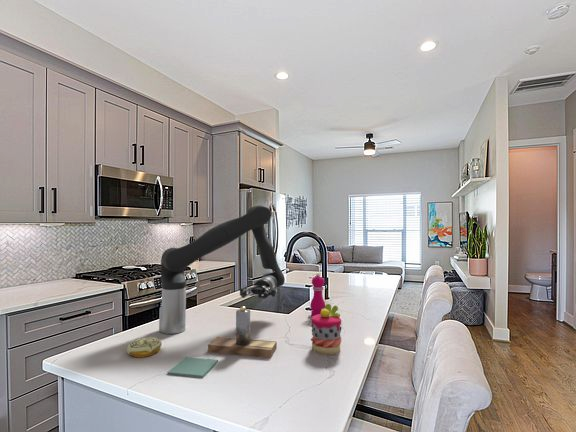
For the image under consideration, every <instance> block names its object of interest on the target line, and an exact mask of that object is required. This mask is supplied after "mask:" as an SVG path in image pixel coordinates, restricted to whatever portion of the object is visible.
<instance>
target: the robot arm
mask: <svg viewBox="0 0 576 432" xmlns="http://www.w3.org/2000/svg"><path fill="white" fill-rule="evenodd" d="M271 217H272V211H271V209H270V208H269V207H268V206H266V205H264V204H263V205H261V204H259V205H254V206H253V205H252V206H251V207H250V208H248V209H247V211H246V213H245V214H244V215H241V216H240V217H237V218H233V219H230V220H228V221H225V222H222V223H220V224H217V225H215V226H214V227H211V228H210V229H208V230H207V231H205V232H204V233H202V234H201V235H200V236H199V237H198V238H197V239H195V240H194V241H192V242H190V243H187V244H186V245H183V246H180V247H178V248H177V247H169V248H167V249H165V250H164V251H163V253H162V255H161V258H160V259H161V260H160V280H161V306H160V307H159V317H158V319H159V321H158V323H159V325H158V332H159V333H163V334H167V335H170V334H171V335H173V334H178V333H183V332H184V331H185V330H186V317H187V316H186V315H187V314H186V313H187V312H186V311H187V307H186V306H187V279H186V278H185V277H186V276H185V269H186V268H188V267H189V266H191V265H192V264H193V263H195V262H197V260H199V259H201V258H203V257H204V256H206V255H209V254H212V253H213V252H215V251H217V250H219V249H221V248H223V247H225V246H227V245H228V244H230V243H232V242H233V241H235V240H237V239H239V238H241V237H242V236H244V235H245V234H246V233H248V232H249V231H252V234H253V237H254V239H255V243H256V246H257V248H258V253H259V257H260V261H261V265H262V268H263V269H265V270H272V272H268V273H264V274H263V275H262V277H260V278H259V279H258V280H256V281H255V283H254V284H253V286H249V287H248V286H247V285H245V286H242V288H239V296H240V297H241V298H242V299H245V297H247V296H248V297H255V296H257V297H258V298H260V299H264V300H265V299H267V298H270V297H273V298H274V297H276V296H277V294H278V287H282V286H283V285H284V284H285V281H286V280H285V279H286V278H285V275H284V273H283V271H282V269H281V268H280V266H279V264H278V261H277V257H276V253H275V250H274V247H273V245H272V242H271V241H270V239H269V237H268V235H267V233H266V229H265V225H267V223H269V222H270V220H271Z"/></svg>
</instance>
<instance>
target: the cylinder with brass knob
mask: <svg viewBox="0 0 576 432" xmlns="http://www.w3.org/2000/svg"><path fill="white" fill-rule="evenodd" d="M235 338H236V344H237V345H240V346H244V345H248V344H250V339H251V310H250V309H247V307H246V306H244V305H242V306H241V307H240V308H239V309H237V310H235Z"/></svg>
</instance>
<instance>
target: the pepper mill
mask: <svg viewBox="0 0 576 432" xmlns="http://www.w3.org/2000/svg"><path fill="white" fill-rule="evenodd" d="M311 284H312V290H313V297H312V299H311V302H310V305H309V306H310V309H311V312H310V313H311V314H310V315H311V317H313V316H315V315H318V314H321V309H322V308H324V309H325V306H326V303H325V300H324V296H323V291H324V284H325V279H324V278H323V277H322V276H321V274H320V273H318V272H317V273H316V276H314V277H313V278H312V279H311Z"/></svg>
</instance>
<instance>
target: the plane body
mask: <svg viewBox="0 0 576 432" xmlns="http://www.w3.org/2000/svg"><path fill="white" fill-rule="evenodd" d="M277 344H278V343H277V341H276V340H263V339H252V338H250V344H248V345H244V346H240V345H237V344H236V337H227V336H226V337H225V336H216V337H215V338H214V339H213V340H211V341H210V342H209V343H208V344H207V353H213V354H223V355H224V354H226V355H235V356H236V355H237V356H247V357H258V358H270V359H271V358H273V355H274V353H275V352H276V351H277V347H278V346H277Z"/></svg>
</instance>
